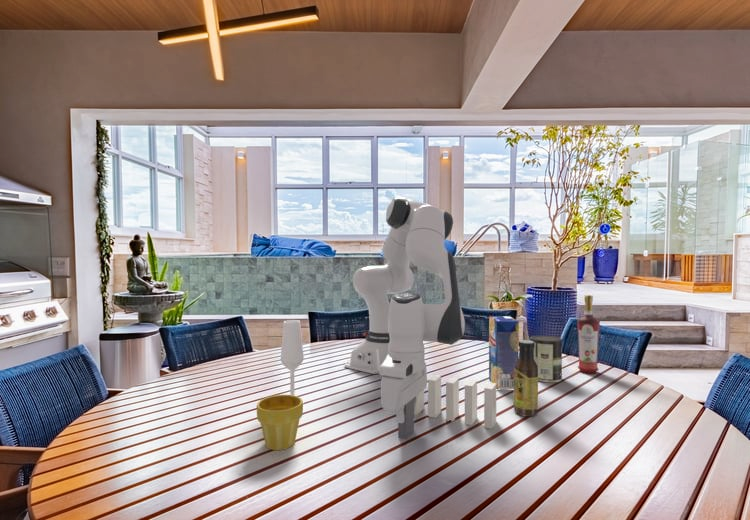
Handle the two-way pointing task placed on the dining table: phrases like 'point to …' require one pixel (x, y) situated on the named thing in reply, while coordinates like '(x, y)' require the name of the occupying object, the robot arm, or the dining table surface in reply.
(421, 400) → the domino
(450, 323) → the robot arm
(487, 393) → the domino
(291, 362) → the champagne flute
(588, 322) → the liquor
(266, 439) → the plant pot
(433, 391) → the domino
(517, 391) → the sauce bottle
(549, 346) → the coffee can
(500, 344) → the beverage box
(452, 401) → the domino
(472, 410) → the domino
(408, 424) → the domino
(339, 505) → the dining table surface
